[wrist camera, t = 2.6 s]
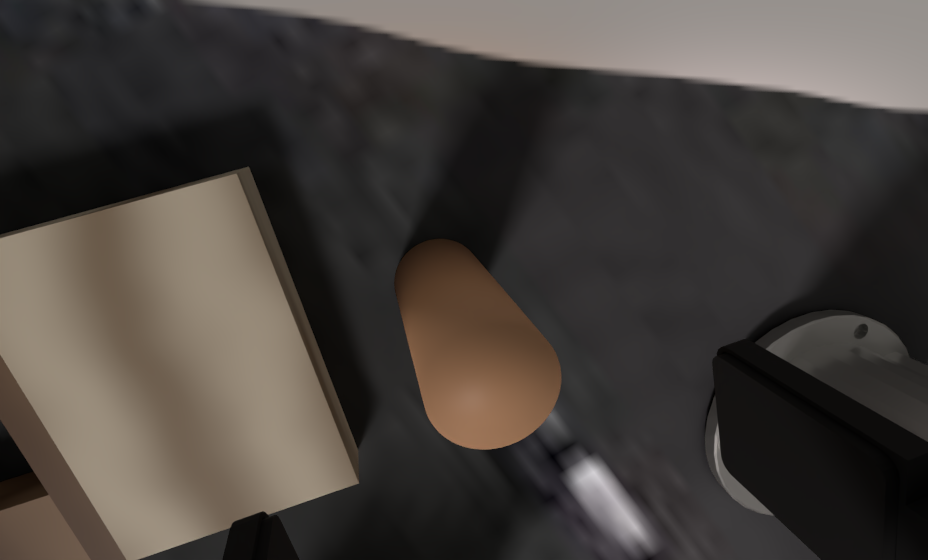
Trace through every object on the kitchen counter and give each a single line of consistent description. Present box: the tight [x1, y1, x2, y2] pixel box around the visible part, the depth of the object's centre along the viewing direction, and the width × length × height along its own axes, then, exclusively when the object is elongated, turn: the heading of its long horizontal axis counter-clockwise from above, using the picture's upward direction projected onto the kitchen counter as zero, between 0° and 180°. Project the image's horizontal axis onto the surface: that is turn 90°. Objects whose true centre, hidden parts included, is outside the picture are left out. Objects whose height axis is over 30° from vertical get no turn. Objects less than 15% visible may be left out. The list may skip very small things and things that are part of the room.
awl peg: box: [394, 239, 561, 450], centre depth 20 cm, size 4×4×10 cm
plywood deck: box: [0, 167, 359, 560], centre depth 22 cm, size 20×14×2 cm
